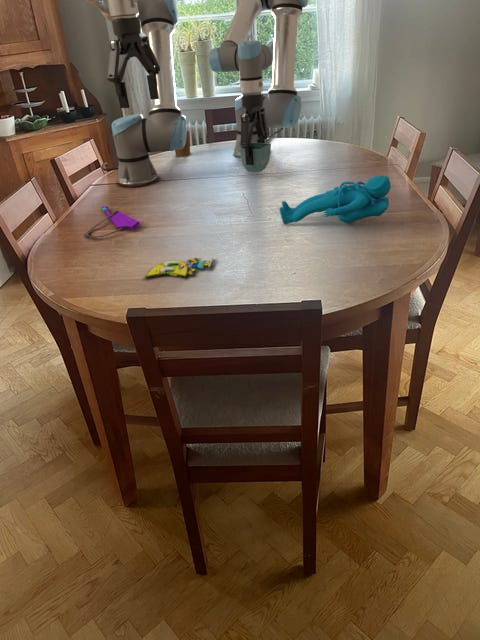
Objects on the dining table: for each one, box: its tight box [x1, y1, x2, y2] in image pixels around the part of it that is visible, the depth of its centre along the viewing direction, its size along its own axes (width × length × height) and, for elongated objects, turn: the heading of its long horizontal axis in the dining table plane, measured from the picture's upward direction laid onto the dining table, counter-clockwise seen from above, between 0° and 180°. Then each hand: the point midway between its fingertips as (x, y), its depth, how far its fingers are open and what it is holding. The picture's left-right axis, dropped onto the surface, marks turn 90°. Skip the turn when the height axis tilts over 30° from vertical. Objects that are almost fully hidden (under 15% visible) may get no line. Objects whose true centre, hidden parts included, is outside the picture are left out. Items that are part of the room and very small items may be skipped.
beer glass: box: [174, 123, 191, 157], centre depth 210 cm, size 10×10×12 cm
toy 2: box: [278, 175, 392, 225], centre depth 133 cm, size 17×11×30 cm
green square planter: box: [239, 142, 272, 173], centre depth 174 cm, size 9×9×9 cm
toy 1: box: [145, 257, 214, 279], centre depth 117 cm, size 10×1×15 cm
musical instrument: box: [85, 205, 141, 239], centre depth 147 cm, size 24×2×20 cm
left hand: (140, 103), depth 140 cm, fingers open, 13 cm apart
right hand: (255, 161), depth 175 cm, fingers closed on green square planter, 9 cm apart
